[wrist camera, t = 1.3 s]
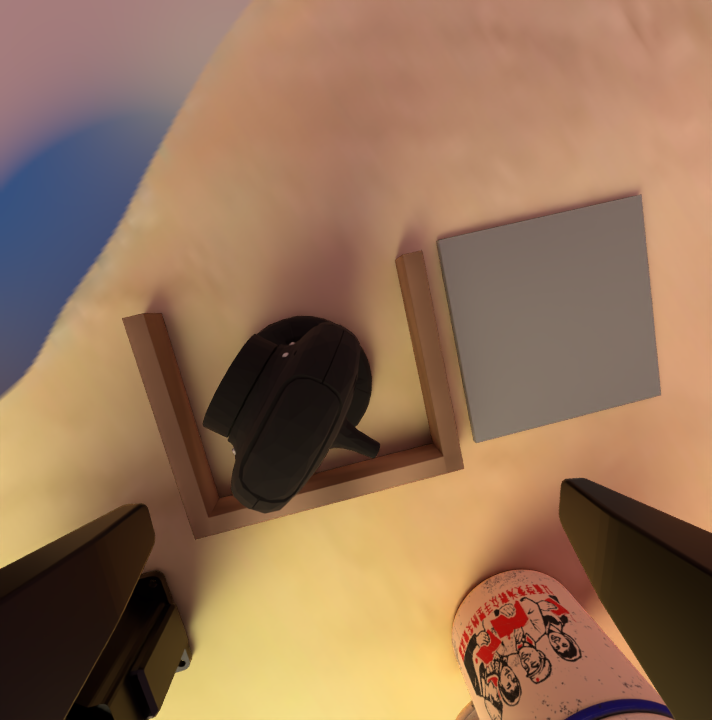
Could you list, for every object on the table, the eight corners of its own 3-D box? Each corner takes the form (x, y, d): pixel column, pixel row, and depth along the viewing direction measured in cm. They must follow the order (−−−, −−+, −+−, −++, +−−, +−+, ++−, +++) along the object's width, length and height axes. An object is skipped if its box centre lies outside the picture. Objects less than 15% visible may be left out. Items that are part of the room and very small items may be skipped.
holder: (207, 518, 21) (195, 539, 19) (142, 317, 19) (122, 318, 17) (451, 454, 22) (464, 468, 20) (412, 256, 20) (421, 250, 18)
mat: (473, 440, 22) (476, 443, 21) (436, 241, 20) (438, 240, 20) (655, 393, 23) (661, 395, 22) (635, 196, 21) (641, 194, 20)
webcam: (277, 289, 20) (231, 267, 10) (394, 352, 21) (458, 391, 11) (213, 411, 20) (109, 507, 10) (330, 467, 21) (337, 602, 11)
